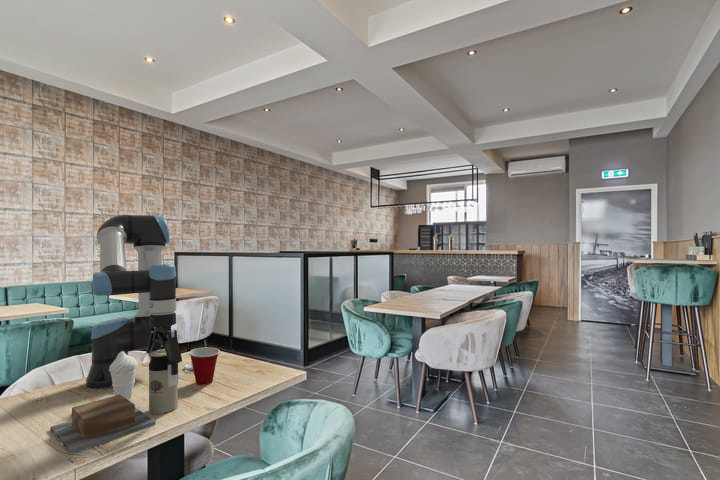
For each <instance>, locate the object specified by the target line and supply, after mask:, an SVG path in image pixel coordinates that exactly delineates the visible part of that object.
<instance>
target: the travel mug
mask: <svg viewBox="0 0 720 480" xmlns="http://www.w3.org/2000/svg"><path fill="white" fill-rule="evenodd" d="M150 356H151V361H150V360H149V363H148V402H149V403H148V411H149V412H150V414H155V415H160V414H166V413H169V412H172V411H174V410H175V409H176V408H178V401H179V400H178V384H177V385H173V386H170V387H169V386H168V365H167V364H168V362H169V360H168V357H167V354H166V351H165V348H163V349H161V348H160V350H156V351H153V352H151V353H150ZM150 356H149V357H150Z"/></svg>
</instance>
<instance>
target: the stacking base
mask: <svg viewBox="0 0 720 480" xmlns="http://www.w3.org/2000/svg"><path fill="white" fill-rule="evenodd" d="M155 425H157V423H156V420H155V419H153V418H152V417H150V416H149V415H148V414H146V413H145V412H143V411H141V410H140V409H139V408H137V407H136V404H135V403H133V402H132V401H130V399H129V400H127V399H126V398H124V397H123V396H121V395H120V394H119V395H116V396H115V395H113V396H109V397H105V398H101V399H97V400H95V401H91V402H87V403H84V404H80V405H76V406H73V407H71V420H68V421H64V422H61V423H57V424H54V425H52V426H50V427H49V428H50V429H49V430H50V432H51V433H52V432H53V433H54V434H53V433H52V434H53V435H54V437H55V438H56V437H57V438H58V439H59V440H58V439H57V438H56V439H57V440H58V441H59V443H60V442H61V443H62V444H63V445H62V444H61V443H60V444H61V445H62V446H63V448H64V447H65V448H66V449H67V450H66V449H65V448H64V449H65V450H66V451H67V453H68V452H69V453H70V454H69V453H68V454H69V455H72V454H71V453H73V454H75V453H74V452H76V453H78V452H77V451H79V452H81V451H84V450H87V449H89V448H92V447H97V446H99V445H100V444H103V443H107V442H110V441H112V440H115V439H118V438H121V437H123V436H126V435H129V434H132V433H136V432H138V431H141V430H144V429H147V428H149V427H152V426H155ZM86 448H87V449H86ZM83 449H84V450H83ZM80 450H81V451H80Z"/></svg>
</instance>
